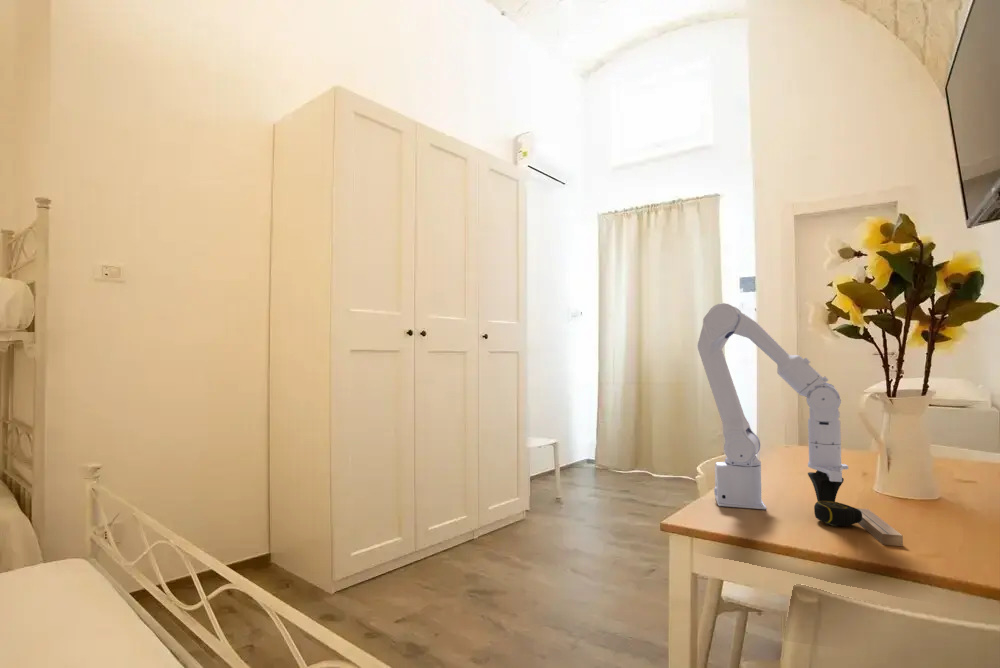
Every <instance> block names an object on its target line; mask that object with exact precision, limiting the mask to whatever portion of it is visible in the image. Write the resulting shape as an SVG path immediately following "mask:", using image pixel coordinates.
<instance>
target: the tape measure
mask: <svg viewBox="0 0 1000 668" xmlns="http://www.w3.org/2000/svg"><path fill="white" fill-rule="evenodd" d="M813 507H814V508H813V510H814V517H815V518H816V519H817V520H819V521H820V522H823V523H825V524H827V525H831V526H833V527H836V526H842V527H843V526H844V527H845V526H852V525H855V524H859V522H860V521H861V520H862V513H861V511H860V510H858V509H856V507H853V506H851V505H848V504H845V503H842V502H838V501H836V500H835V501H817V502H816V503H815V504H814V506H813Z"/></svg>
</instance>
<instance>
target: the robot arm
mask: <svg viewBox="0 0 1000 668" xmlns="http://www.w3.org/2000/svg"><path fill="white" fill-rule="evenodd" d="M733 334H734V335H738V336H741V337H743V338H747V339H749V340H750V341H751V342H752V343H753V344H755V346H757V348H759V349H760V350H761V351H762V352H764V354H765V355H766V356H768V358H770V359H771V360H772V361H773V362H774V363H775V364H777V365H776V366H777V369H776V373H777V375H778V376H779V377H781V378H782V379H783V380H784V381H785V382H786V383H787V385H789V387H791V389H793V390H794V391H795V392H796V393H797V395H799V396H802V397H806V400H805V401H806V403H807V406H808V409H809V411H808V413H809V418H808V420H807V430H808V431H807V433H808V434H807V435H808V436H807V437H808V462H807V467H808V468H810V469H813V470H815V472H813V471H811V472H810V471H809V472H807V476H808V478H809V479H810V480H811V483H812V486H813V488H814V492H815V496H816V499H817V502H818V501H835V502H836V498H837V494H838V492H839V489H840V487H842V484H843V483H844V482H845V481H844V478H843V470H849V465H847V464H846V463H842V434H841V433H842V432H841V430H842V429H841V420H840V418H841V417H840V416H841V413H840V410H839V408H840V406H841V403H842V399H841V396H840V393H839V391H838V390H837V389H836V387H835V385H833V384H831V383H828V381H829V378H828V377H827V376H822V375H821V373H819V372H818V371H817V370H816V369H815V368H813V366H811V365H810V363H811V361H810V359H808V357H805V358H803V357H802V356H801V355H799V354H789V353H788V352H787V351H786V350H785V349H784V348H783V347H782V346H781V345H780V344H779V343H778V342H777V341H776V340H775V339H774V338H773V337H772V336H771V335H770V334H769V333H768V332H767V330H765V329H764V327H762V326H761V325H760V324H759V323H758V322H757V321H756V320H755V319H754V320H753V319H752V318H751V317H750V316H748V315H746V314H745V313H743V312H742V311H741V310H740V309H739V308H737V307H736V306H733V305H731V304H730V303H725V302H723V303H722V302H721V303H717V304H715V305H713V306H712V307H711V308H710V309H709V310H708V311H707V313H706V315H704V317H703V320H702V327H701V331H700V334H699V338H698V342H697V351H698V352H699V356H700V359H701V362H702V366H703V367H704V371H705V375H706V378H707V380H708V383H709V387H710V389H711V393H712V396H713V399H714V401H715V404H716V407H717V410H718V413H719V416H720V420H721V422H722V435H723V437H724V443H723V444H724V446H723V451H724V455H725V456H726V457H725V458H724V461H716V462H715V463H714V489H713V492H714V498H715V501H716V503H717V505H718V506H719V507H730V508H741V509H754V510H767V505H766V504H764V501H763V500H762V498H763V497H762V462H761V460H760V459H759V458H758V457H757V454H758V453H759V451H760V449H761V440H760V438H759V437H758V436H757V434H755V432H754V431H753V430H752V429H751V426H750V423H749V421H748V420H747V418H746V416H745V414H744V410H743V407H742V405H741V402H740V399H739V396H738V392H737V390H736V386H735V384H734V380H733V379H732V376H731V372H730V369H729V367H728V363H727V361H726V358H725V356H724V352H723V349H724V347H725V345H726V343H727V342H728V340H729V338H730V337H732V336H733Z"/></svg>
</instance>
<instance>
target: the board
mask: <svg viewBox="0 0 1000 668" xmlns="http://www.w3.org/2000/svg"><path fill="white" fill-rule="evenodd" d="M855 508H856V507H855ZM856 509H858V510H860V511H861V513H862V520H861V521H860V522H859V523H858V524H859V525H860V526H861V527H862V528H864V530H866V532H868V533H869V534H870V535H872V536H873V537H874V538H875V539H876V540H877V541H878V542H879V543H880V544H881V545H885V546H894V547H895V546H899V547H904V536H903V534H902V533H900V532H899V531H898V530H896V529H895V528H894V527H893V526H891V525H889V524H888V523H887V522H886V521H885V520H883V519H882V517H879V516H878V515H877V514H876V513H874V512H873V511H871V510H870V509H869V508H856Z"/></svg>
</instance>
